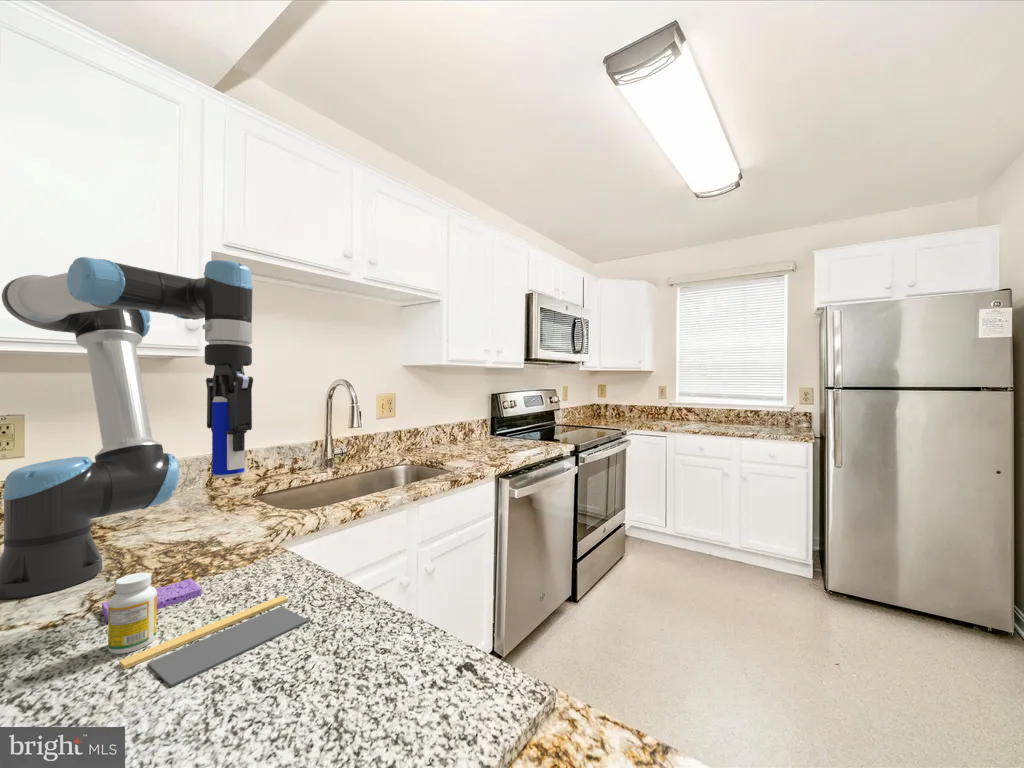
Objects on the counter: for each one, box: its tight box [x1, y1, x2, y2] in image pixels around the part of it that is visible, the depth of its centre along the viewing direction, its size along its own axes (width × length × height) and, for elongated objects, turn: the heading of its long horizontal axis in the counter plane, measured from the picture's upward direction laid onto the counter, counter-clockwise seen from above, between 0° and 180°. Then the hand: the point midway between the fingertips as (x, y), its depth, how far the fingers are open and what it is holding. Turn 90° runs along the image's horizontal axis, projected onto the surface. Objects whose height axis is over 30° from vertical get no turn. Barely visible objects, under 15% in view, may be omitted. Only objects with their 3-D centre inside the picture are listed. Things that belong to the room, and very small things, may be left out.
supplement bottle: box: [107, 572, 158, 655], centre depth 63 cm, size 5×5×10 cm
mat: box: [146, 606, 309, 688], centre depth 63 cm, size 8×18×1 cm, turn 146°
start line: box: [119, 594, 289, 670], centre depth 67 cm, size 2×22×1 cm, turn 146°
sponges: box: [101, 578, 203, 622], centre depth 75 cm, size 7×13×2 cm, turn 139°
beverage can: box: [211, 396, 246, 479], centre depth 82 cm, size 5×5×15 cm
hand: (228, 467), depth 82 cm, fingers closed on beverage can, 5 cm apart
